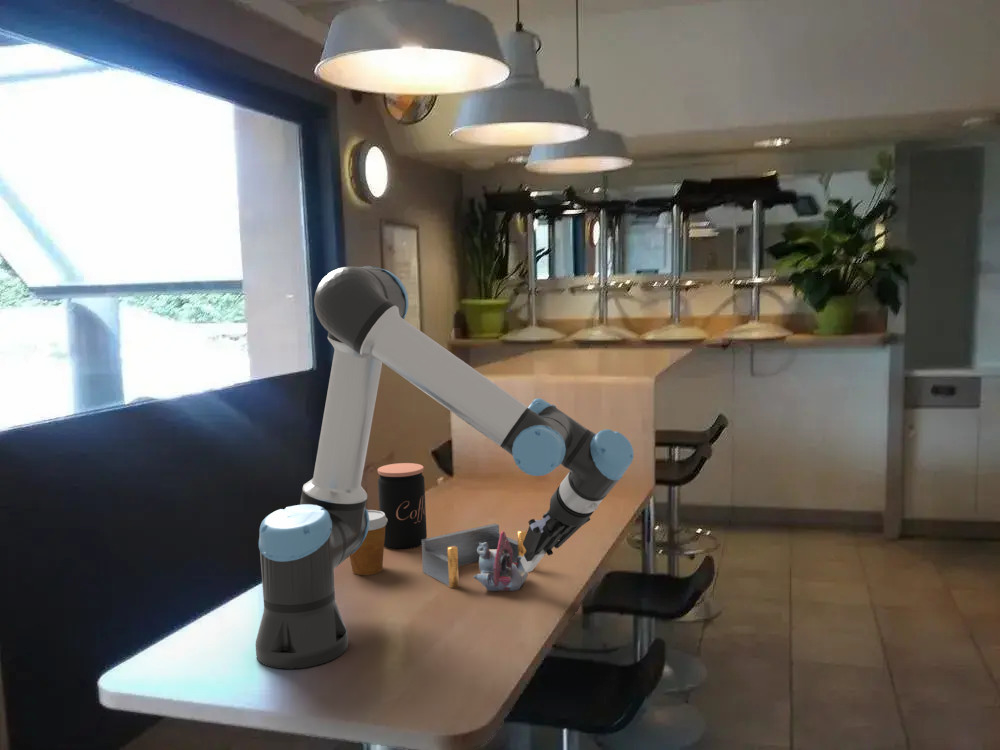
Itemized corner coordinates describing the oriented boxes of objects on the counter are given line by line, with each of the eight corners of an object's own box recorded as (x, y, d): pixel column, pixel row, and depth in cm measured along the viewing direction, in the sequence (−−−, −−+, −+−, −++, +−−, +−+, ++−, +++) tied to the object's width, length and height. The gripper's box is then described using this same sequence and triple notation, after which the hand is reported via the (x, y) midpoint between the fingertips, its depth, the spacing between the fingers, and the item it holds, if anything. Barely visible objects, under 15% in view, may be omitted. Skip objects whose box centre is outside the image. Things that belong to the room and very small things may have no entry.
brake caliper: (529, 585, 167) (491, 534, 168) (486, 615, 170) (449, 565, 171) (543, 566, 178) (507, 518, 179) (503, 594, 181) (468, 548, 182)
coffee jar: (398, 553, 197) (394, 475, 195) (372, 543, 205) (368, 468, 203) (436, 543, 204) (432, 467, 202) (409, 533, 212) (406, 460, 210)
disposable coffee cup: (335, 571, 186) (332, 516, 185) (370, 560, 193) (368, 507, 192) (363, 581, 180) (360, 524, 178) (399, 569, 186) (396, 514, 185)
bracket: (452, 588, 173) (450, 549, 173) (421, 572, 184) (420, 535, 183) (530, 568, 184) (528, 531, 183) (497, 553, 194) (495, 518, 193)
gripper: (557, 522, 148) (506, 590, 164) (616, 508, 155) (561, 575, 171) (538, 485, 152) (489, 555, 168) (596, 474, 159) (544, 542, 175)
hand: (526, 565), depth 169 cm, fingers closed
